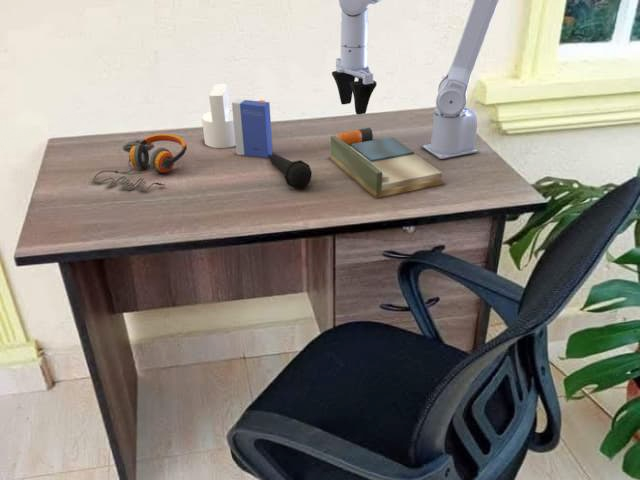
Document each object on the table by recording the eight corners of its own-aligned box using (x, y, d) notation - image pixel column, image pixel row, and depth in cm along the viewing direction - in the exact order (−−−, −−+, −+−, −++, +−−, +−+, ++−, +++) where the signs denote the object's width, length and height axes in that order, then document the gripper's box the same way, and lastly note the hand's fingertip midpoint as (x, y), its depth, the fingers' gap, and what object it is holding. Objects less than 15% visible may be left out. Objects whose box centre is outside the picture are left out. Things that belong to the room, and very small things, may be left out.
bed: (391, 147, 151) (392, 125, 148) (442, 184, 135) (444, 160, 132) (330, 159, 146) (330, 136, 143) (376, 198, 130) (377, 173, 127)
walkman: (272, 153, 149) (269, 100, 142) (267, 158, 147) (264, 104, 140) (241, 149, 152) (236, 97, 144) (236, 154, 149) (231, 101, 142)
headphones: (82, 172, 136) (137, 120, 147) (92, 193, 139) (144, 141, 151) (149, 186, 130) (201, 131, 141) (157, 207, 134) (207, 152, 145)
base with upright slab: (240, 147, 153) (236, 95, 145) (202, 148, 153) (195, 96, 146) (244, 133, 160) (240, 83, 153) (207, 134, 160) (201, 84, 153)
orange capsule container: (367, 138, 156) (367, 125, 154) (373, 142, 154) (373, 129, 152) (334, 145, 153) (333, 132, 152) (339, 149, 151) (339, 135, 149)
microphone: (263, 172, 148) (297, 197, 132) (253, 150, 145) (286, 172, 129) (284, 161, 149) (320, 184, 133) (274, 138, 146) (310, 158, 129)
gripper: (323, 39, 144) (323, 101, 152) (352, 54, 133) (351, 121, 141) (352, 35, 146) (351, 97, 154) (383, 50, 135) (380, 116, 143)
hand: (353, 108), depth 148 cm, fingers open, 7 cm apart
